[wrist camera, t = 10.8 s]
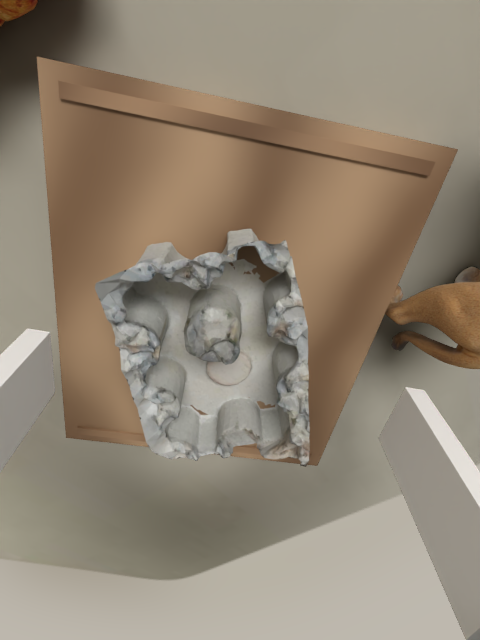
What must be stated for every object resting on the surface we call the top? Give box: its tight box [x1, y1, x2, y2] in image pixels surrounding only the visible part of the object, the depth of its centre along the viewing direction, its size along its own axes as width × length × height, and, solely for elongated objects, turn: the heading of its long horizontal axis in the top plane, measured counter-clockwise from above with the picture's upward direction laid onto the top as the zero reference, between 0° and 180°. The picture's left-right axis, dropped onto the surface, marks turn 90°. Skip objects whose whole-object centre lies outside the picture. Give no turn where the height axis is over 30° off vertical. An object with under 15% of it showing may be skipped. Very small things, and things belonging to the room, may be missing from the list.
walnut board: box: [37, 57, 458, 466], centre depth 17 cm, size 15×18×2 cm
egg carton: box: [95, 229, 310, 467], centre depth 15 cm, size 11×8×4 cm
